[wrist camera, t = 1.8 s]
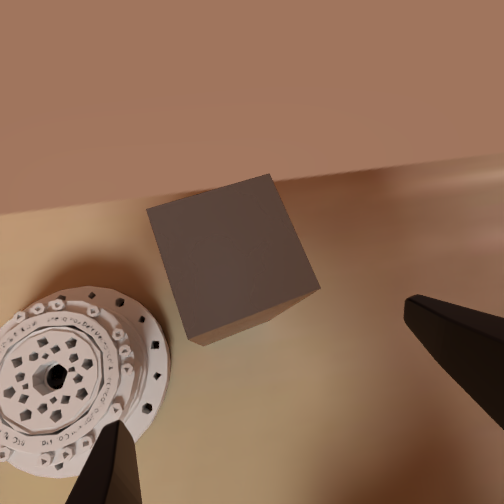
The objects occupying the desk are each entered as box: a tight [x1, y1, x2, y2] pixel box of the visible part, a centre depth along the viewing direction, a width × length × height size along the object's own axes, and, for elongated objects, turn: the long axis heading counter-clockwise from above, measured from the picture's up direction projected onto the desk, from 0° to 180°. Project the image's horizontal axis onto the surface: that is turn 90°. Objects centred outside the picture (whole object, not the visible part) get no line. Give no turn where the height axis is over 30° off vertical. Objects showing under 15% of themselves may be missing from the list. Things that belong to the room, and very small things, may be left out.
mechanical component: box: [0, 286, 171, 478], centre depth 17 cm, size 10×4×10 cm
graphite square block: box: [146, 174, 321, 346], centre depth 16 cm, size 4×4×11 cm
